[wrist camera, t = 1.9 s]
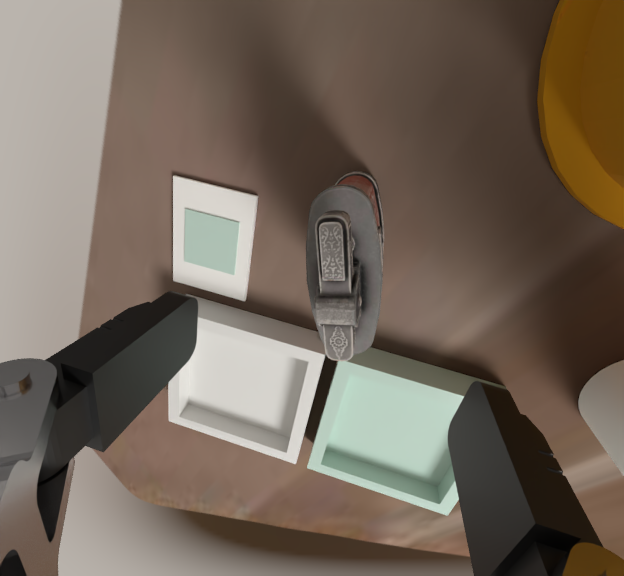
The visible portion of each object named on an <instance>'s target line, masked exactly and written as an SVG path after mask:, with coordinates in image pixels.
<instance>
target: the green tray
mask: <svg viewBox="0 0 624 576" xmlns="http://www.w3.org/2000/svg"><path fill="white" fill-rule="evenodd" d="M475 381H479V382H483V383H486V384H489V385H493V386H496V387H500V388H503V389H506V387H505V386H502V385H499V384H496V383H492V382H489V381H485V380H482V379H478V378H475V377H471V376H468V375H465V374H461V373H458V372H454V371H451V370H447V369H444V368H441V367H437V366H434V365H430V364H427V363H423V362H420V361H416V360H413V359H410V358H406V357H403V356H399V355H396V354H392V353H389V352H385V351H382V350H379V349H375V348H372V347H369V348H368V349H367V350H366V351H364V352H362V353H359V354H355V355H353V357H352V358H351V359H350V360H348V361H337V364H336V367H335V370H334V374H333V377H332V381H331V384H330V387H329V391H328V394H327V398H326V401H325V404H324V408H323V411H322V415H321V418H320V422H319V425H318V428H317V432H316V435H315V439H314V442H313V446H312V450H311V454H310V458H309V462H308V466H307V468H309V469H312V470H314V471H317V472H320V473H323V474H326V475H329V476H332V477H335V478H338V479H341V480H344V481H347V482H350V483H353V484H356V485H359V486H362V487H365V488H367V489H370V490H373V491H376V492H379V493H382V494H385V495H388V496H391V497H394V498H397V499H400V500H403V501H406V502H409V503H412V504H415V505H418V506H421V507H423V508H426V509H429V510H432V511H435V512H438V513H441V514H444V515H447V516H448V514H449V513H450V511H451V510H452V508H453V507H454V505H455V504H456V503H457V501H458V500H459V497H458V492H457V487H456V482H455V477H454V472H453V467H452V462H451V457H450V452H449V447H448V430H449V426H450V423H451V420H452V418H453V416H454V415H455V413H456V411H457V409H458V407H459V405H460V404H461V402H462V400H463V398H464V396H465V394H466V392H467V391H468V389H469V387H470V385H471V384H472V383H473V382H475ZM506 390H507V389H506Z"/></svg>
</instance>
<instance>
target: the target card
mask: <svg viewBox="0 0 624 576" xmlns="http://www.w3.org/2000/svg"><path fill="white" fill-rule="evenodd" d="M257 204H258V196H257V195H253V194H249V193H245V192H241V191H237V190H233V189H229V188H225V187H221V186H217V185H213V184H209V183H205V182H201V181H197V180H193V179H189V178H185V177H180V176H176V175H175V176H173V281H175V282H179V283H182V284H186V285H189V286H193V287H196V288H200V289H203V290H207V291H210V292H214V293H217V294H221V295H224V296H228V297H231V298H234V299H238V300H241V301H246V298H247V289H248V281H249V272H250V264H251V255H252V247H253V238H254V230H255V221H256V213H257Z"/></svg>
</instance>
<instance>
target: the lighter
mask: <svg viewBox="0 0 624 576" xmlns="http://www.w3.org/2000/svg"><path fill="white" fill-rule="evenodd" d="M383 247H384V225H383V210H382V205H381V200H380V195H379V190H378V185H377V183H376V180H375V179H374V178H373V177H372V176H371V175H370V174H368V173H365V172H363V171H353V172H349V173H347V174H345V175H344V176H342V177H341V178H340V179H339V180H338V181H337V182H336V184H335V186H331V187H329V188H327V189H326V190H324V191H322V192H321V193H320V194H318V196H317V197H316V198H315V199H314V201H313V202H312V204H311V208H310V211H309V220H308V230H307V241H306V269H307V284H308V290H309V296H310V302H311V307H312V312H313V316H314V319H315V322H316V325H317V329H318V332H319V335H320V338H321V340H322V342H323V344H324V345H325V352H326V355H327V357H328V358H330V359H331V360H335V361H348V360H350V359H351V358H352V357H353V355H355V354H359V353H362V352H364V351H366V350H367V349H368V348H369V347H370V346H371V344H372V342H373V340H374V336H375V332H376V327H377V323H378V318H379V314H380V303H381V291H382V277H383V272H382V269H383Z"/></svg>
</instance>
